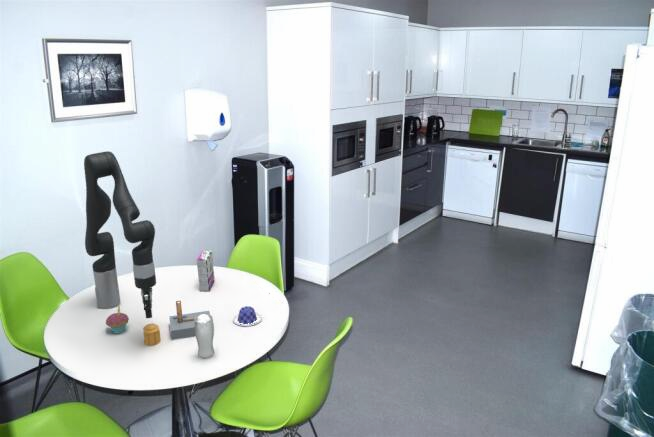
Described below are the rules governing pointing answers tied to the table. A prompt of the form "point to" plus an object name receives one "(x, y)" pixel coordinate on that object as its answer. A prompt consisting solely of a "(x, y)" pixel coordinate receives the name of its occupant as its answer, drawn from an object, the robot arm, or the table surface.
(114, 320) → the cupcake
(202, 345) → the beer glass
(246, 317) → the pudding
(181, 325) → the box
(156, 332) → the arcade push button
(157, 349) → the table surface
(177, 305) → the wooden post
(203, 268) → the candy bar box
